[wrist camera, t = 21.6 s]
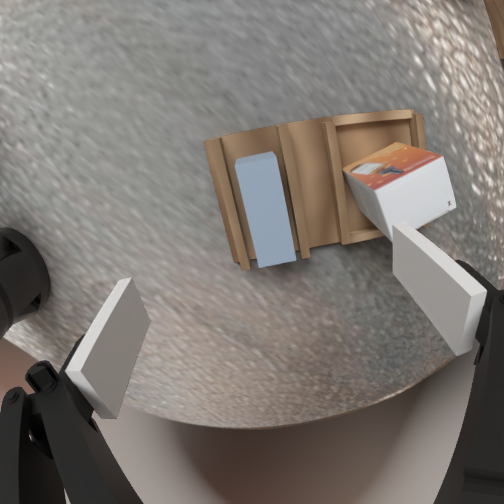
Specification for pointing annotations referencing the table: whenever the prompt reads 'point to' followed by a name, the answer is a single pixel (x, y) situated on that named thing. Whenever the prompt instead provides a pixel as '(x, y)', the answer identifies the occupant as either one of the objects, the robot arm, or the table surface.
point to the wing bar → (265, 208)
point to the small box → (400, 187)
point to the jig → (309, 175)
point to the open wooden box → (497, 22)
